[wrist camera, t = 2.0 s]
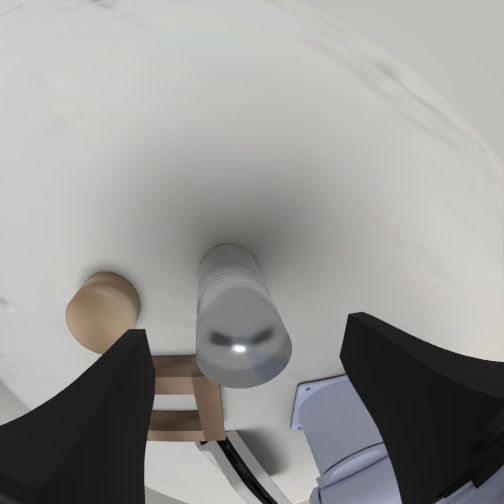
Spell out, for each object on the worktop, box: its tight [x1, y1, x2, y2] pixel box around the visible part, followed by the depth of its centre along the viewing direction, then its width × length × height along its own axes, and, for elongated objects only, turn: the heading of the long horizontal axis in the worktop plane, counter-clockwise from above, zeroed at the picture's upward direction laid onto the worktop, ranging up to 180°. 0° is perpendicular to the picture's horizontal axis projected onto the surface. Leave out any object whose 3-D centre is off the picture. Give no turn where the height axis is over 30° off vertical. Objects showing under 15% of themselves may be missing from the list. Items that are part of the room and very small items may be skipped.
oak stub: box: [66, 272, 140, 354], centre depth 17 cm, size 5×5×4 cm
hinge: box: [195, 430, 292, 504], centre depth 25 cm, size 17×5×10 cm, turn 16°
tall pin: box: [196, 244, 292, 388], centre depth 15 cm, size 4×4×9 cm
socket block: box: [147, 355, 226, 442], centre depth 21 cm, size 10×10×3 cm
